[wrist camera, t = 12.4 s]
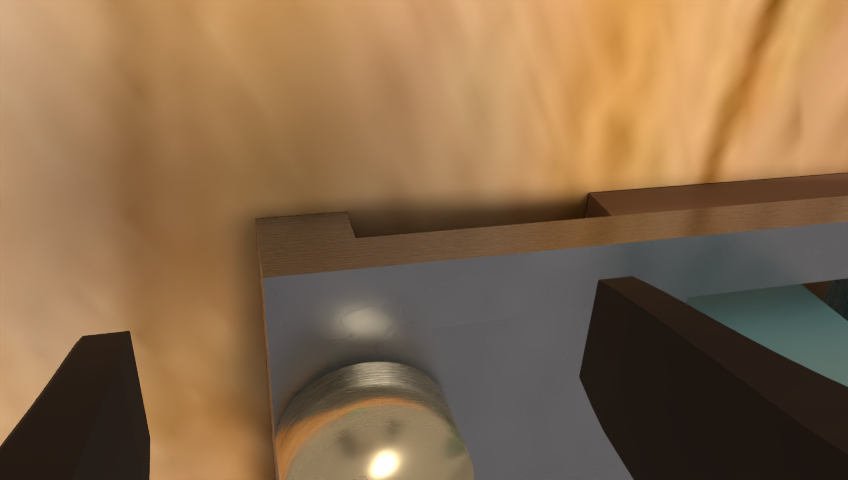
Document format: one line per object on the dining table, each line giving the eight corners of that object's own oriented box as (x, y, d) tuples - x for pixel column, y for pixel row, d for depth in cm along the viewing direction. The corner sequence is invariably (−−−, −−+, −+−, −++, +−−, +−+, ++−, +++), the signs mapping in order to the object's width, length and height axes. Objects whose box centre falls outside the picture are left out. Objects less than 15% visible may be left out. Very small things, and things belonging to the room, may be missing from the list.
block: (739, 360, 28) (933, 560, 21) (635, 376, 27) (799, 592, 20) (772, 261, 26) (1003, 445, 19) (660, 273, 25) (857, 475, 17)
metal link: (787, 410, 31) (887, 515, 26) (276, 496, 26) (292, 643, 21) (882, 170, 25) (1030, 250, 21) (255, 219, 20) (270, 339, 16)
